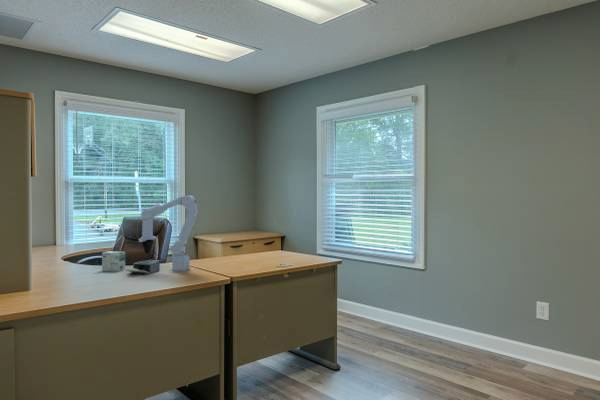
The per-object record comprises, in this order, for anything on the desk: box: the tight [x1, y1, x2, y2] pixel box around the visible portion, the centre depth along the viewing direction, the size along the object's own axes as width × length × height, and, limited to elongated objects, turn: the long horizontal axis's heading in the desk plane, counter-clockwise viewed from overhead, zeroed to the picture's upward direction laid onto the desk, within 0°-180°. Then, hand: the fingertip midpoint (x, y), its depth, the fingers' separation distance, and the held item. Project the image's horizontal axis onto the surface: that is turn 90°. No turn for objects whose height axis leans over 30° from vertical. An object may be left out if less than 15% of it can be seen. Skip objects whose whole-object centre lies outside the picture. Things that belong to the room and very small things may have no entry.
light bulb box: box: [101, 250, 126, 272], centre depth 241 cm, size 11×7×11 cm, turn 84°
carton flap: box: [125, 267, 151, 274], centre depth 229 cm, size 11×1×9 cm
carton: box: [132, 260, 161, 274], centre depth 238 cm, size 11×9×6 cm
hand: (147, 252), depth 248 cm, fingers closed
